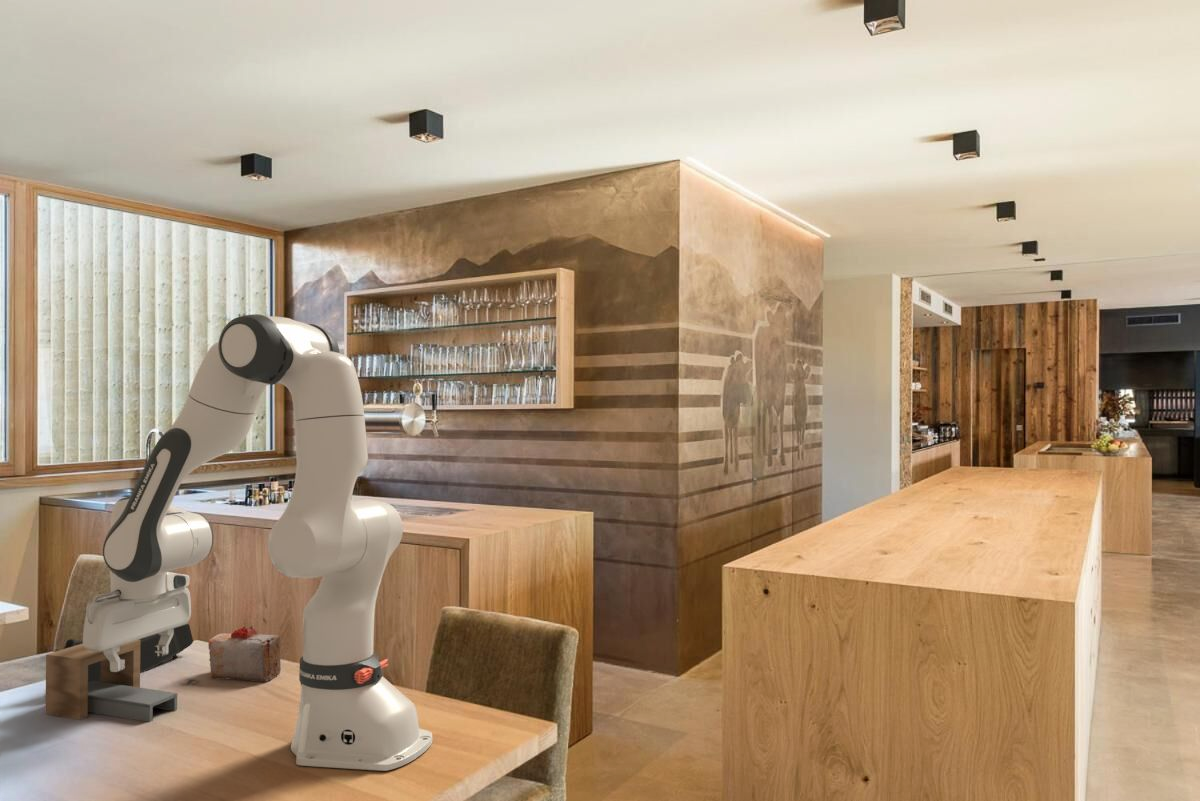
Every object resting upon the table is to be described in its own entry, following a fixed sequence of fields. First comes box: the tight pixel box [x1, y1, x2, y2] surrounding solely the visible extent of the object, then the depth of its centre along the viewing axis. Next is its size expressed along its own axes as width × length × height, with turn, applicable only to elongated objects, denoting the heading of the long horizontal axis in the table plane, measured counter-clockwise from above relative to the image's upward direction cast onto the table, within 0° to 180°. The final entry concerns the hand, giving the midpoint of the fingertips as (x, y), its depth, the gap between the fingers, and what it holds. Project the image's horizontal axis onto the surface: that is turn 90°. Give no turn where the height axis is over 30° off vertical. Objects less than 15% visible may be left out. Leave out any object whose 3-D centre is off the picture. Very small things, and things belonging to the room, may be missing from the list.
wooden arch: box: [44, 640, 141, 720], centre depth 152 cm, size 8×12×10 cm, turn 162°
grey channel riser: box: [88, 681, 178, 723], centre depth 150 cm, size 20×6×3 cm, turn 72°
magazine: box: [63, 623, 194, 682], centre depth 167 cm, size 17×3×30 cm
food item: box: [207, 624, 282, 682], centre depth 168 cm, size 14×8×10 cm, turn 80°
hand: (140, 662), depth 148 cm, fingers open, 8 cm apart
